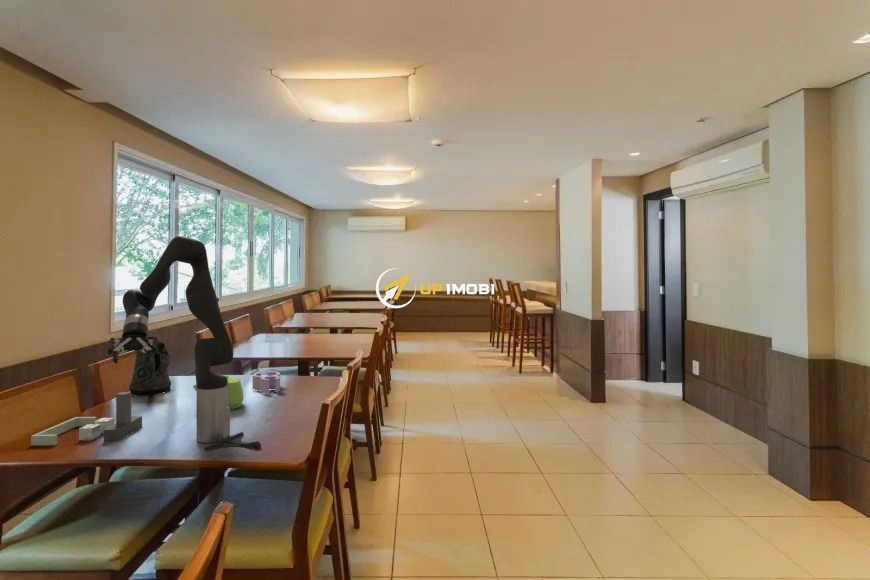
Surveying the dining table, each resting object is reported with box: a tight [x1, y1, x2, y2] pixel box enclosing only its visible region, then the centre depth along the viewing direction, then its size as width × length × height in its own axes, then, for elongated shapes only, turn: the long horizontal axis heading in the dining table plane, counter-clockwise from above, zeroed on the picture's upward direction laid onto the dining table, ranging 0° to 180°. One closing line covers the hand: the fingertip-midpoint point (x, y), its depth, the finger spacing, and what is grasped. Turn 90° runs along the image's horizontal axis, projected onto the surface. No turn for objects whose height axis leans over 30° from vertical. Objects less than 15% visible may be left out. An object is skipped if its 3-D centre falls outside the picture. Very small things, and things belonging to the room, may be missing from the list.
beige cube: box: [94, 417, 115, 434], centre depth 153 cm, size 4×4×4 cm
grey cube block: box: [78, 424, 102, 441], centre depth 146 cm, size 4×4×4 cm
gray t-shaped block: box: [103, 391, 143, 443], centre depth 150 cm, size 4×14×14 cm, turn 4°
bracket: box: [204, 431, 262, 451], centre depth 142 cm, size 14×15×3 cm
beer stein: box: [128, 336, 172, 397], centre depth 206 cm, size 16×19×25 cm
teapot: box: [192, 374, 244, 411], centre depth 182 cm, size 18×20×13 cm
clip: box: [252, 370, 281, 395], centre depth 213 cm, size 20×12×7 cm, turn 32°
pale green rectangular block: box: [30, 416, 98, 446], centre depth 149 cm, size 7×19×3 cm, turn 4°
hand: (131, 361), depth 149 cm, fingers open, 8 cm apart
